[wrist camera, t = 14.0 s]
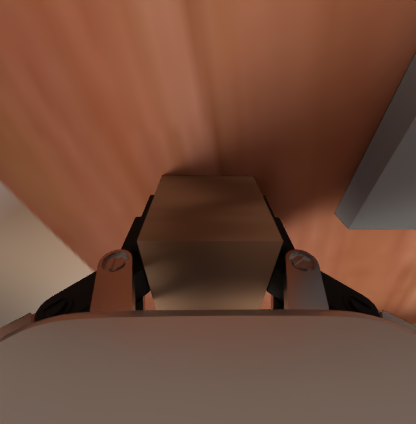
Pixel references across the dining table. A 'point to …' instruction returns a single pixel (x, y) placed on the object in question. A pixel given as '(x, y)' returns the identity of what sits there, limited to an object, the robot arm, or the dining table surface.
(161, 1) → the dining table surface
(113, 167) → the dining table surface
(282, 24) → the dining table surface
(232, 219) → the walnut block
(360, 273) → the dining table surface
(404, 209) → the grey tray
